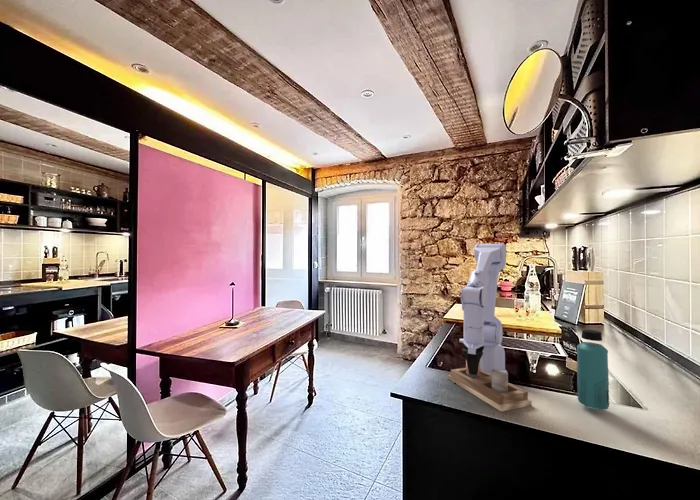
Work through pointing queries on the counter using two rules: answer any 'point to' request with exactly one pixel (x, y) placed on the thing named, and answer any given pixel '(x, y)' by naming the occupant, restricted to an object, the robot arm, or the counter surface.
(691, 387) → the counter surface
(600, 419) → the counter surface
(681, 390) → the counter surface
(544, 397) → the counter surface
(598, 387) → the beverage bottle
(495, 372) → the socket holder
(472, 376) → the peach rounded capsule
